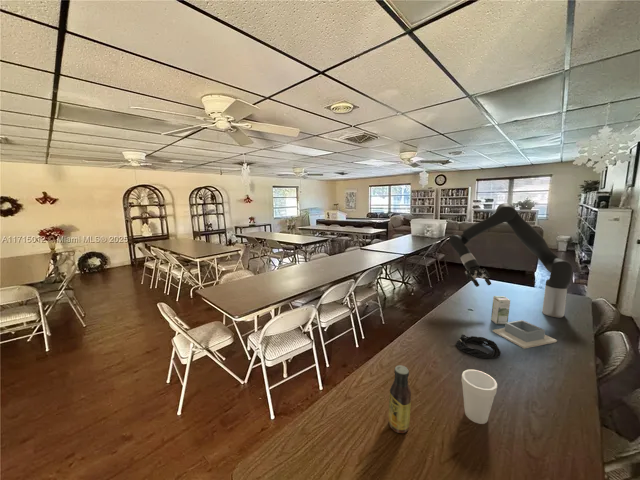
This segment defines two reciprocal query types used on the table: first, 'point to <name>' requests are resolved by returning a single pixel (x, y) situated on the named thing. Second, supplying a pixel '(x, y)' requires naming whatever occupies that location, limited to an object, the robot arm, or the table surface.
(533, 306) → the table surface
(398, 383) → the sauce bottle
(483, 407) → the foam cup
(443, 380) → the table surface
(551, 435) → the table surface
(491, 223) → the robot arm
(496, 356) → the cable
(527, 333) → the end holder
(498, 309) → the syrup box
